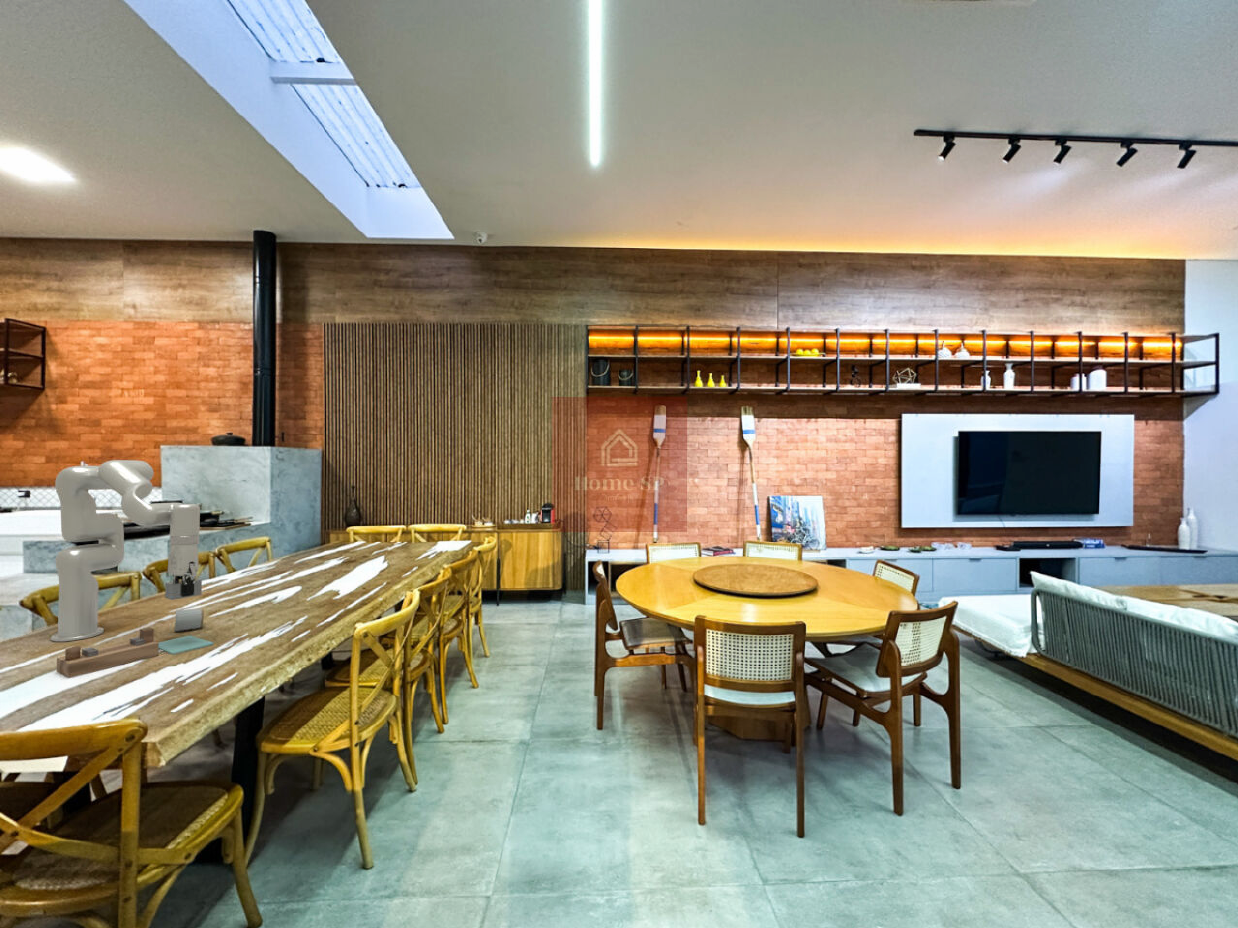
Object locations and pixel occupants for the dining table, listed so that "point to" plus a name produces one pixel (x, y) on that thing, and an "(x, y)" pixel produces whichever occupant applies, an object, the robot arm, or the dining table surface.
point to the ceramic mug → (189, 619)
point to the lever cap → (175, 589)
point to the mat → (183, 644)
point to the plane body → (107, 655)
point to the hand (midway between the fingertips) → (183, 594)
